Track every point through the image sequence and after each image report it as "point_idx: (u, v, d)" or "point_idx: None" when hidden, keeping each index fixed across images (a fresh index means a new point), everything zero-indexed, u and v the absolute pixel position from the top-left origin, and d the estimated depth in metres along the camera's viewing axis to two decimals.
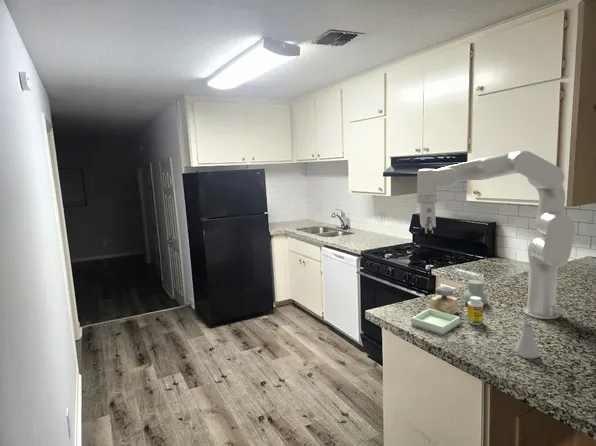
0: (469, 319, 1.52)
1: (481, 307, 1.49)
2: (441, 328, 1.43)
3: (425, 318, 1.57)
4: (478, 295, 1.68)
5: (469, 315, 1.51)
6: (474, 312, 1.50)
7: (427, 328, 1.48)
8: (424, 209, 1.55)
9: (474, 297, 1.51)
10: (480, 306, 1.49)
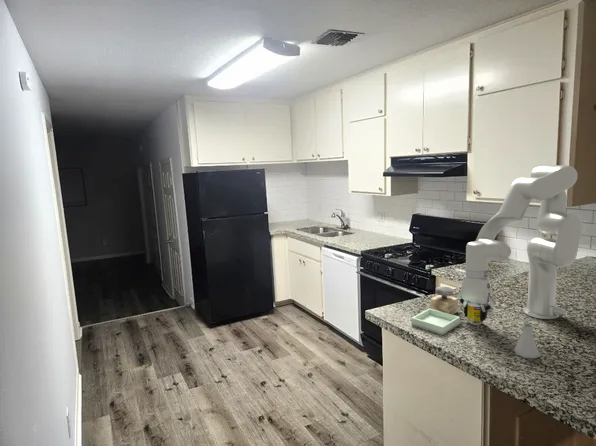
0: (469, 319, 1.52)
1: None
2: (441, 328, 1.43)
3: (425, 318, 1.57)
4: None
5: (469, 315, 1.51)
6: (474, 312, 1.50)
7: (427, 328, 1.48)
8: (485, 285, 1.46)
9: None
10: (480, 306, 1.49)
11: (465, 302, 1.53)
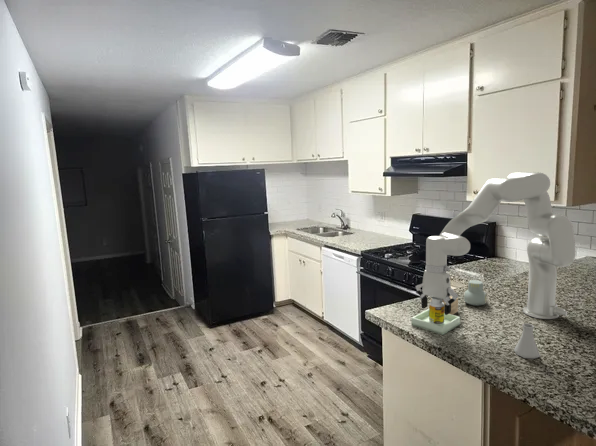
0: (430, 319, 1.51)
1: (442, 307, 1.49)
2: (441, 328, 1.43)
3: (425, 318, 1.57)
4: (478, 295, 1.68)
5: (430, 315, 1.51)
6: (435, 312, 1.49)
7: (427, 328, 1.48)
8: (444, 280, 1.45)
9: None
10: (441, 306, 1.49)
11: (423, 294, 1.53)
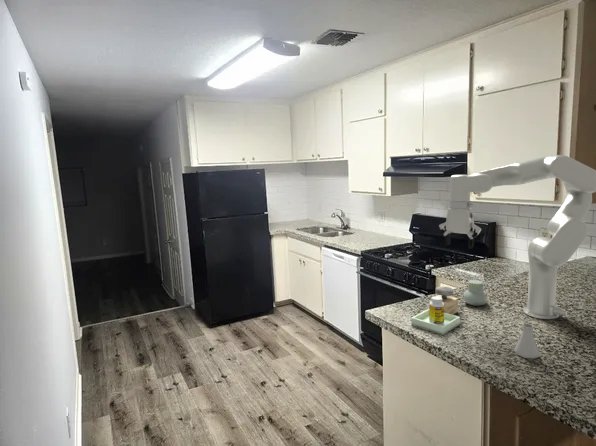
0: (430, 319, 1.51)
1: (442, 307, 1.49)
2: (441, 328, 1.43)
3: (425, 318, 1.57)
4: (478, 295, 1.68)
5: (430, 315, 1.51)
6: (435, 312, 1.49)
7: (427, 328, 1.48)
8: (468, 215, 1.53)
9: (435, 297, 1.51)
10: (441, 306, 1.49)
11: (447, 232, 1.62)
